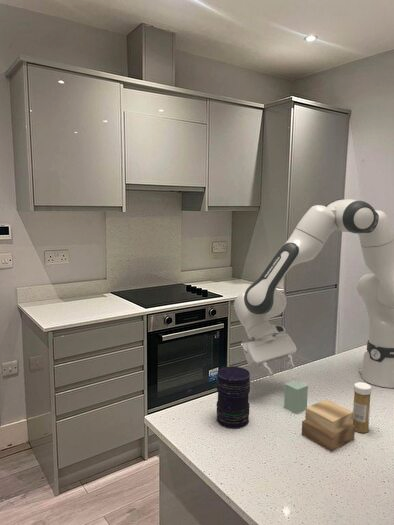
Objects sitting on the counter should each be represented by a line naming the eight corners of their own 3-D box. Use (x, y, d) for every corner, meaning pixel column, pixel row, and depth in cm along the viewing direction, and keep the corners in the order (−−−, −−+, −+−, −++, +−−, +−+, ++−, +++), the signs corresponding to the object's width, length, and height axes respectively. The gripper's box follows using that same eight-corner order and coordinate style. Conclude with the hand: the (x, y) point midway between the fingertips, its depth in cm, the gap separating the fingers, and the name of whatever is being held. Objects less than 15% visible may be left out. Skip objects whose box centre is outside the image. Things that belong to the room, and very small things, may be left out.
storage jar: (253, 416, 124) (254, 369, 122) (243, 432, 115) (244, 382, 113) (223, 409, 128) (223, 364, 126) (211, 424, 120) (211, 376, 118)
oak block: (325, 412, 119) (326, 399, 118) (352, 425, 111) (353, 411, 111) (305, 421, 114) (305, 407, 113) (332, 436, 106) (332, 421, 106)
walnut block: (324, 425, 120) (324, 410, 119) (354, 441, 112) (355, 425, 111) (301, 436, 114) (302, 421, 114) (331, 453, 106) (332, 437, 106)
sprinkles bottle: (372, 430, 116) (374, 386, 115) (362, 435, 114) (365, 390, 112) (358, 423, 120) (360, 380, 118) (348, 427, 118) (350, 384, 116)
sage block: (294, 403, 132) (295, 380, 131) (306, 409, 128) (307, 385, 127) (284, 407, 130) (284, 383, 129) (296, 414, 126) (297, 389, 124)
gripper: (243, 336, 131) (264, 375, 125) (287, 325, 143) (308, 361, 136) (234, 345, 135) (253, 383, 129) (277, 334, 147) (297, 369, 140)
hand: (282, 372), depth 133 cm, fingers open, 8 cm apart
